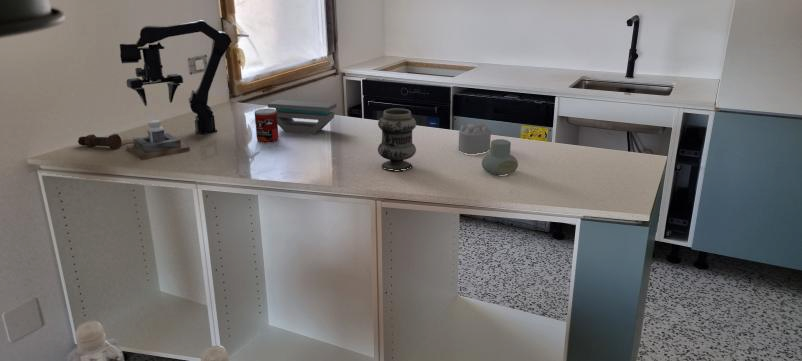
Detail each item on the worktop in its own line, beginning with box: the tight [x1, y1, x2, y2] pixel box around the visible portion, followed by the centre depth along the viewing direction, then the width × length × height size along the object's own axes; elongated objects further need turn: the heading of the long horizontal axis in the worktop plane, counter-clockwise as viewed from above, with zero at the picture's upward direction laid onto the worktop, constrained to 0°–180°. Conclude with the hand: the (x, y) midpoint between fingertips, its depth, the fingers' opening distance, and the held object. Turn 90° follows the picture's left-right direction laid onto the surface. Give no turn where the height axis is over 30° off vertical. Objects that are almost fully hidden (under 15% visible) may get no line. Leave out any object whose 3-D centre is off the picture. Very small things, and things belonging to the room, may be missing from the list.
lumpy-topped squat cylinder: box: [458, 122, 492, 154], centre depth 205 cm, size 10×13×9 cm
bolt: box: [77, 133, 123, 150], centre depth 211 cm, size 6×5×15 cm
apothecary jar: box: [377, 107, 417, 170], centre depth 186 cm, size 12×12×18 cm
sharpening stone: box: [267, 99, 337, 136], centre depth 230 cm, size 25×8×11 cm, turn 73°
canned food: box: [254, 108, 279, 144], centre depth 217 cm, size 8×8×11 cm
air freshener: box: [481, 138, 519, 176], centre depth 182 cm, size 11×8×10 cm
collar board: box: [126, 132, 190, 160], centre depth 208 cm, size 16×16×4 cm
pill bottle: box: [146, 119, 165, 143], centre depth 206 cm, size 5×5×9 cm
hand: (158, 104), depth 222 cm, fingers open, 9 cm apart
